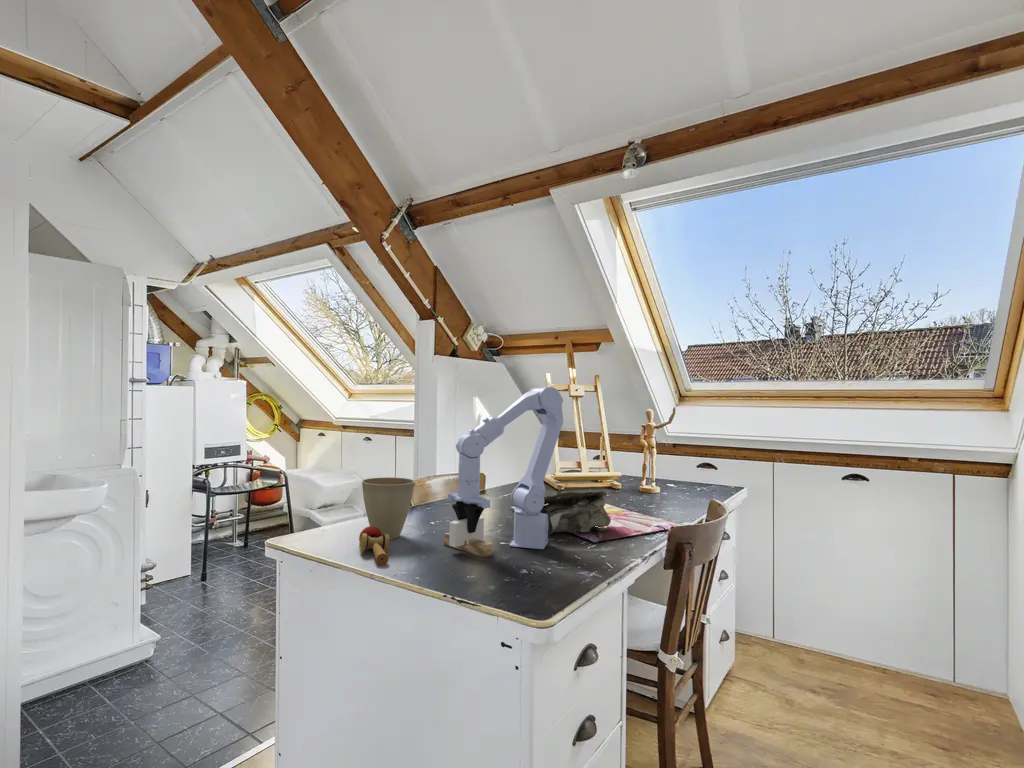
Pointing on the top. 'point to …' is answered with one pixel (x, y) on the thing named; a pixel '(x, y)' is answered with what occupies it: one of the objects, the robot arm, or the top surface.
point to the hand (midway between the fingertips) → (467, 531)
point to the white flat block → (464, 532)
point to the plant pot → (388, 503)
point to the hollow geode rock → (575, 512)
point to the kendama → (375, 543)
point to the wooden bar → (473, 546)
